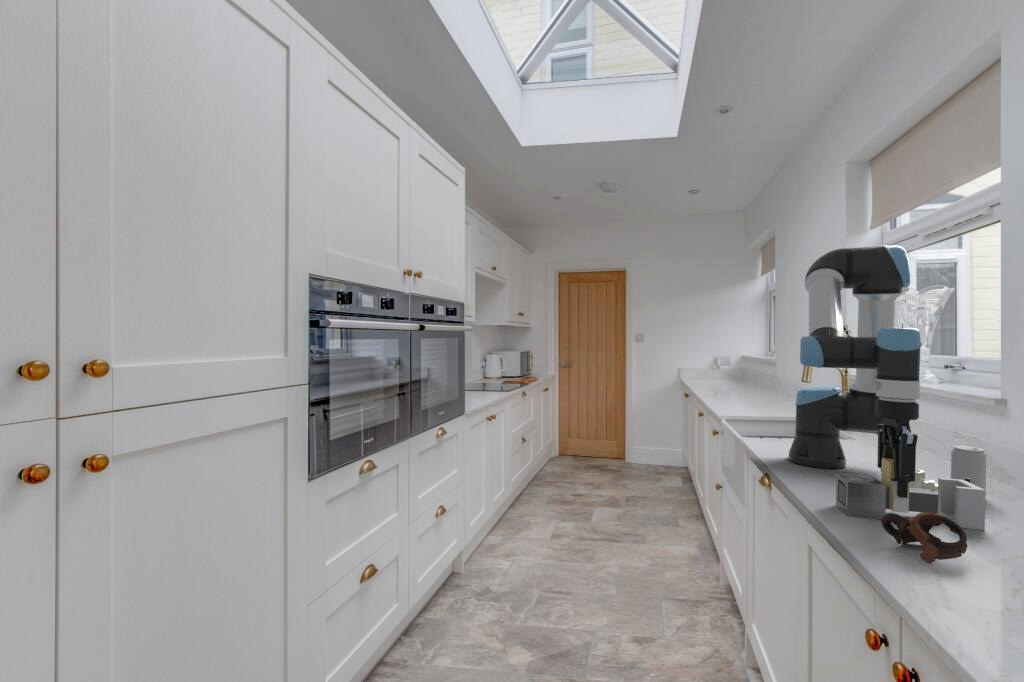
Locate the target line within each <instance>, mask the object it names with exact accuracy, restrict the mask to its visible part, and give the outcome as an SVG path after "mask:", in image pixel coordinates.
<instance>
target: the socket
mask: <svg viewBox="0 0 1024 682" xmlns="http://www.w3.org/2000/svg"><path fill="white" fill-rule="evenodd" d="M937 484H938V492H937V494H938V495H939V496H938V514H939V515H941V516H944V517H947V518H949V519H951V520H952V521H954V522H955V523H957V524H958V525H959V526H960V527H961V528H962V529H971V530H978V531H979V530H981V531H982V530H983V531H985V529H986V527H985V526H986V497H985V495H986V493H987V491H986V490H987V489H986V490H984V489H982V488H980V487H978V486H976V485H973V484H971V483H969V482H967V481H965V480H960V479H951V478H945V477H944V478H943V477H938V478H937ZM986 496H987V495H986Z"/></svg>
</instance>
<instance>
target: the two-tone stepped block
mask: <svg viewBox="0 0 1024 682" xmlns="http://www.w3.org/2000/svg"><path fill="white" fill-rule="evenodd" d="M880 473H881V474H880V479H881V480H880V481H881V482H882V483H884V484H885V485H886V508H885V510H890V511H892V481H891V478H895V476H894V463H893V459H891V458H882V468H880ZM909 484H910V482H909ZM938 496H939V495H938V493H937V492H936V491H934V492H933V491H931V490H929V489H920V488H909V501H908V512H915V513H923V512H928V513H935V514H938ZM838 500H840V501H841V502H842V503H843V504H844V505H845V500H846V485H845V484H844V483H843V482H839V498H838Z"/></svg>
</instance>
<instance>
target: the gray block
mask: <svg viewBox="0 0 1024 682" xmlns="http://www.w3.org/2000/svg"><path fill="white" fill-rule="evenodd" d="M835 481H836V484H835V506H836V505H837V506H838V507H839V508H840V509H839V508H838V507H837V506H836V507H837V508H838V509H839V510H840V511H841V510H842V511H843V514H844V515H846V516H847V517H853V516H854V518H862V519H863V518H865V519H866V518H867V519H873V518H874V520H881V519H882V518H883V517H884V515H885V514H886V509H885V508H886V485H885V484H884V483H882V482H881V480H879V479H878V478H877V477H874V476H872V475H862V474H852V473H851V474H850V473H837V472H836V480H835ZM839 482H843V483H844V484H845V485H846V500H845V505H844V504H843V503H842V502H841V501H840V500H838V498H839ZM842 511H841V512H842Z"/></svg>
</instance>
